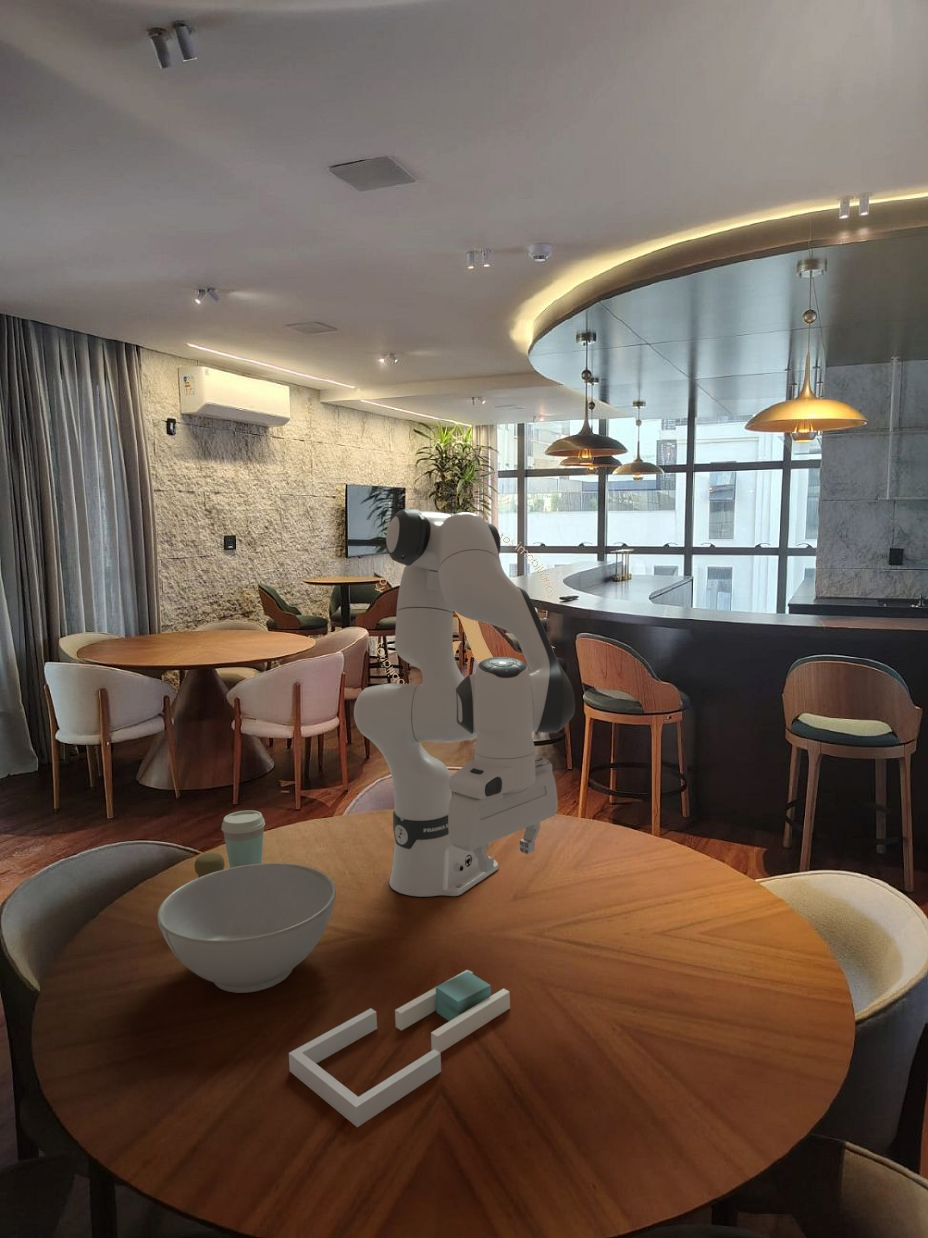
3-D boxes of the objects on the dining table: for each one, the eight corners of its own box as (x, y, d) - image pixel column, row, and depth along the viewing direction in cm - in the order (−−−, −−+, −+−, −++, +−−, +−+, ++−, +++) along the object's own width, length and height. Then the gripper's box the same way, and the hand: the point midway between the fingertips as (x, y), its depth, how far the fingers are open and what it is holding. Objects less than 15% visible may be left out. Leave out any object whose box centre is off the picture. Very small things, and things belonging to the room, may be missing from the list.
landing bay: (371, 1025, 113) (370, 1008, 112) (441, 1071, 103) (440, 1053, 102) (289, 1071, 104) (288, 1053, 103) (357, 1127, 93) (356, 1107, 93)
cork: (235, 906, 150) (231, 849, 149) (222, 922, 144) (218, 862, 143) (203, 905, 151) (199, 848, 150) (189, 921, 145) (185, 862, 144)
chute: (467, 985, 122) (467, 969, 122) (510, 1008, 116) (509, 991, 115) (395, 1027, 112) (394, 1010, 112) (437, 1054, 106) (437, 1036, 106)
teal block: (468, 997, 119) (468, 971, 119) (491, 1012, 115) (490, 985, 115) (436, 1013, 115) (435, 987, 115) (458, 1029, 112) (458, 1002, 111)
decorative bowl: (123, 1002, 120) (116, 924, 119) (236, 919, 145) (232, 854, 144) (275, 1039, 110) (270, 955, 109) (369, 943, 135) (366, 874, 134)
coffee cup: (276, 867, 167) (272, 811, 166) (252, 885, 159) (248, 826, 158) (240, 863, 170) (237, 807, 168) (215, 880, 162) (211, 822, 160)
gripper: (535, 751, 128) (537, 835, 130) (439, 781, 114) (443, 876, 115) (566, 758, 123) (568, 845, 125) (471, 791, 109) (474, 889, 111)
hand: (507, 860), depth 120 cm, fingers open, 8 cm apart
